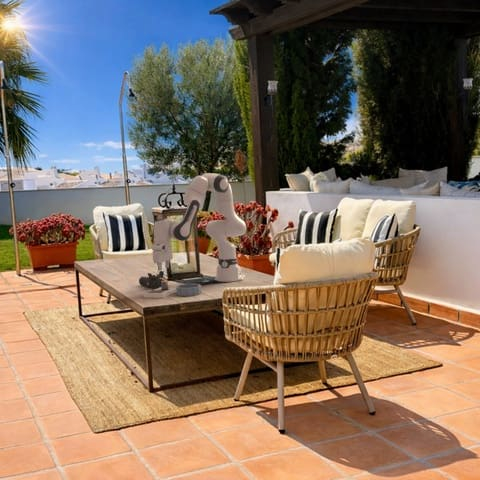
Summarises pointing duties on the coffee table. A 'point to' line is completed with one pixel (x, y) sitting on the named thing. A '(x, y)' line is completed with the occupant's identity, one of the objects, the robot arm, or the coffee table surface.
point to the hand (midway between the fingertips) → (163, 269)
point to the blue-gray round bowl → (188, 289)
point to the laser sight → (152, 280)
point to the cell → (164, 285)
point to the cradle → (159, 293)
